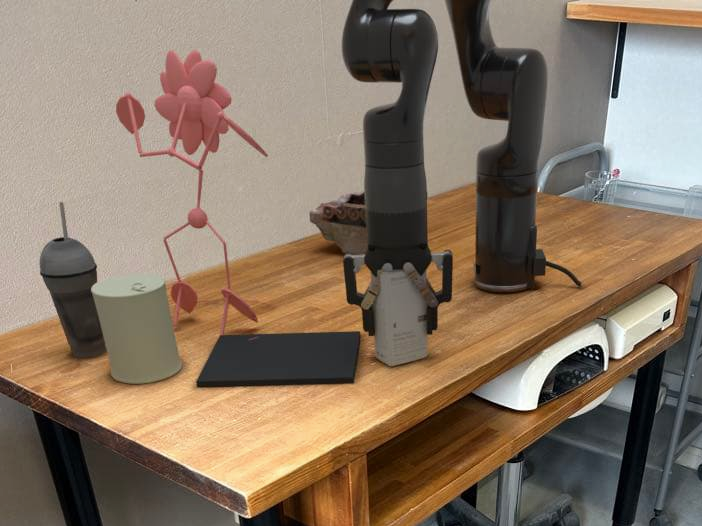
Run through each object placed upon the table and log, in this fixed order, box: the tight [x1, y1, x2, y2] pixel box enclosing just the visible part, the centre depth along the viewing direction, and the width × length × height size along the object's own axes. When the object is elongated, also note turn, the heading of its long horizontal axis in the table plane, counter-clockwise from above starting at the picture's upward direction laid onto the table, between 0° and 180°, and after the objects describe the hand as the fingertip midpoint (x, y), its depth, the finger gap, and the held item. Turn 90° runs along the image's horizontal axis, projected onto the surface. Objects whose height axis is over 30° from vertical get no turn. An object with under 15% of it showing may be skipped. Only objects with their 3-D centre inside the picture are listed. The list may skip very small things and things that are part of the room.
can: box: [91, 272, 183, 385], centre depth 111 cm, size 9×9×12 cm
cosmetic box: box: [370, 269, 429, 367], centre depth 111 cm, size 6×4×12 cm
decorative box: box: [309, 191, 367, 255], centre depth 152 cm, size 13×20×10 cm, turn 53°
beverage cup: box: [39, 201, 107, 359], centre depth 114 cm, size 7×7×20 cm
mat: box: [195, 330, 361, 388], centre depth 115 cm, size 20×16×1 cm
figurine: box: [115, 49, 278, 340], centre depth 119 cm, size 15×26×35 cm, turn 59°
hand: (400, 333), depth 113 cm, fingers closed on cosmetic box, 7 cm apart
